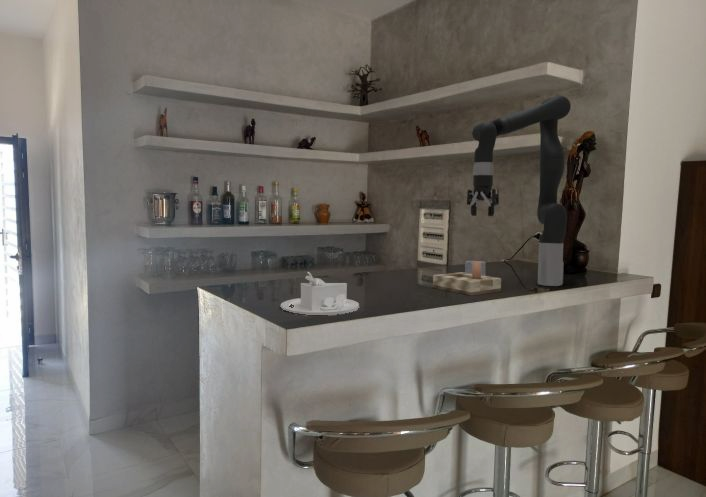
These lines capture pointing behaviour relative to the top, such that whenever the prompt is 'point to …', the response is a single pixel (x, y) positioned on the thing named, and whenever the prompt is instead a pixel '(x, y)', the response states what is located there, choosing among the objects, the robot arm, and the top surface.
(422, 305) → the top surface
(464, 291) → the beige flat block
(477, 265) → the peg
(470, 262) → the medicine box
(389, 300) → the top surface
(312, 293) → the dish
